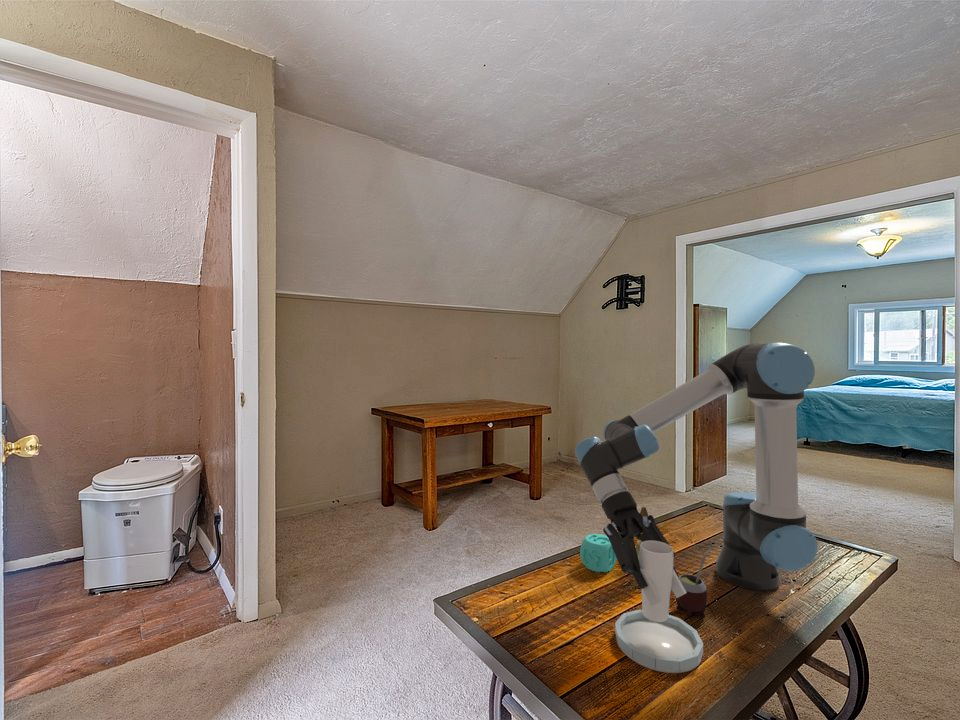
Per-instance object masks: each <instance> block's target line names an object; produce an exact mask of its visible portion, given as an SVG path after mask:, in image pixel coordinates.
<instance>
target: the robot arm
mask: <svg viewBox="0 0 960 720" xmlns="http://www.w3.org/2000/svg"><path fill="white" fill-rule="evenodd" d="M815 372H816V370H815V364H814V362H813V359H812V357H811V355H809V353H808V352H806V351H805V350H804V349H803V348H801V347H800V346H798V345H795V344H790V343H785V342H773V343H772V342H771V343H770V342H768V343H750V344H749V343H748V344H745V345H743V346H740V347H738V348H736V349H734V350H732V351H730V352H729V353H726V354H725V355H724V356H722V357H720V358H718V359H717V360H715V361H713V362H712V363H710V364H708V366H707V370H704V372H701V373H700V374H698V375H697V376H695V377H693V378H691V379H690V380H688V381H686V382H684V383H682V384H681V385H679V386H677V387H675V388H674V389H671V391H668V392H666V393H665V394H663V395H662V396H660V397H658V398H656V399H655V400H653V401H651V402H649V403H647V404H646V405H643V406H642V407H640V408H639V409H637V410H635V411H633V412H632V413H630V414H628V415H626V416H625V417H622V418H621V419H617V420H616V419H615V420H614V419H613V420H611V421H609V422H607V423H606V424H605V425H604V428H603V430H602V435H603V438H604V441H603V440H601V439H600V438H599V437H598V436H592V437H587V438H584V439H583V440H581V441H580V442H578V443H577V445H576V446H575V448H574V454H575V456H576V459H577V460H578V463H579V466H580V467H581V469H582V471H583V473H584V475H585V477H586V479H587V480H588V482H589V484H590V487H591V489H592V491H593V493H594V494H595V496H596V499H597V500H598V502H599V503H600V504H601V508H602V510H603V512H604V515H605V516H606V518H607V519H608V520H610V523H608V524H607V525H606V526H605V527H604V528H603V529H602V531H603V533H604V535H606V536H607V537H608V538H609V541H610V543H611V545H612V548H613V550H614V553H615V555H616V558H617V559H616V561H617V562H618V565H619V568H620V570H621V572H622V573H624V574H625V573H627V574H628V575H629V576H633V578H634V580H635V581H636V584H637V586H638V587H639V589H640V590H641V589H643V591H644V593H645V595H646V597H647V599H648V601H649V603H650V605H651V606H654V605H656V604H658V603H659V602H661V599H660V597H659V595H658V593H657V591H656V589H655V588H654V586H653V584H652V582H651V580H650V578H649V576H648V574H647V572H646V571H645V569H642V570H640V564H639V559H638V555H637V551H636V544H635V540H634V538H636V539H637V541H638V540H641V541H642V542H644V541H649V540H652V541H660V542H663V543H666V544H668V545H670V544H669V542H668V540H667V539H666V538H665V536H664V534H663V533H662V531H661V530H660V528H659V527H658V525H657V524H656V521H655V518H654V516H653V515H652V514H648V517H644V516H642V515H641V514H640V512H639V511H638V504H637V503H636V500H635V499H634V496H633V495H632V493H631V492H630V491H629V488H628V486H627V484H626V483H625V481H624V480H623V477H622V476H621V474H620V472H619V470H621V469H623V468H625V467H628V466H630V465H631V464H635V463H636V462H640V461H642V460H643V459H646V458H649V457H650V456H651V455H654V454H656V453H657V452H659V450H660V443H659V441H658V439H657V437H656V435H655V434H656V432H658V431H660V430H662V429H664V428H665V427H667V426H669V425H671V424H672V423H675V422H676V421H678V420H680V419H682V418H683V417H686V415H688V414H690V413H692V412H694V411H696V410H698V409H699V408H701V407H703V406H705V405H706V404H709V403H710V402H712V401H714V400H715V399H717V398H719V397H721V396H723V395H729V396H730V395H733V394H734V393H736V392H738V391H740V390H745V389H746V390H747V391H746V392H747V393H746V395H747V400H749V401H750V402H751V403H752V404H753V405H754V435H755V436H754V437H755V438H754V440H755V445H754V446H755V485H756V486H755V487H756V491H755V492H745V491H744V492H743V491H740V492H739V491H737V492H736V491H733V492H727V493H726V494H725V495H724V497H723V505H722V507H723V509H722V510H723V520H722V521H723V522H722V523H723V524H722V526H723V527H722V529H723V531H722V534H723V536H722V537H723V538H722V540H723V541H722V542H723V543H722V545H721V549H720V551H719V554H718V556H717V559H716V562H715V572H716V574H717V576H719V577H720V578H721V579H723V580H724V581H726V582H728V583H729V584H732V585H734V586H737V587H740V588H743V589H748V590H752V591H764V592H765V591H773V590H775V589H777V588H778V587H779V585H780V574H779V571H778V569H779V570H781V571H785V572H795V571H801V570H802V569H805V568H806V567H807V565H809V564H811V563H813V561H814V560H815V558H816V556H817V553H818V541H817V538H816V536H815V535H814V534H813V532H812V531H811V530H810V529H808V528H807V512H806V510H805V509H804V508H802V506H800V505H799V490H798V489H799V486H798V485H799V484H798V480H799V479H798V478H799V477H798V474H799V473H798V435H797V434H798V433H797V432H798V426H797V425H798V423H797V421H798V419H797V407H798V405H799V404H800V403H802V402H803V401H804V399H805V390H806V389H808V388H809V386H810V385H812V382H813V381H814V378H815V376H816V375H815V374H816V373H815ZM642 532H643V533H642ZM641 533H642V534H641ZM673 555H674V558H675V557H676V552H675V551H674V550H673ZM679 577H680V576H679V573H678V571H677V569H676V567H675V566H674V565H673V577H672V585H671V592H673V595H674V596H675V599H676V598H678V597H680V596H682V595H684V594H686V593H687V592H686V590H685V589H684V587H683V585H682V583H681V582H680V580H679Z"/></svg>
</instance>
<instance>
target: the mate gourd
mask: <svg viewBox="0 0 960 720" xmlns="http://www.w3.org/2000/svg"><path fill="white" fill-rule="evenodd" d="M712 550H713V548H712V547H710V548H709V549H708V550H707V551H705V553H704V555H703V556H702V557H701V560H700V564H699V568H698V572H697V575H693V574H682V575H680V576H679V577H678V578H679V580H680V582H681V583H682V585H683V587H684V589H685V590H686V592H687V593H686V594H684V595H682V596H680V597H678V598H676V597H675V600H676V604H677V605H676V609H677V610H679V611H681V612H685V613H687V614H686V619H688V620H691V618H692V617H693V615H694V616H699V617H701V618H705V617H706V614H705V611H706V610H707V606H708V595H709V594H708V590H707V586H706V584H705V583H704V581H703V579H701V578H700V577H701V574H702V570H703V566H704V564H705V562H706V558H707V556H708V555H709V554H710V553H711V551H712Z"/></svg>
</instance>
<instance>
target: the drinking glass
mask: <svg viewBox="0 0 960 720" xmlns="http://www.w3.org/2000/svg"><path fill="white" fill-rule="evenodd" d="M673 551H674V548H673V547H672V546H671V545H670V544H669V545H668V544H666V543H663V542H660V541H652V540H649V541H644V542H642V543H641V544H640V560H639V561H640V570H642V569H645V571H646V572H647V574H648V576H649V578H650V580H651V582H652V584H653V586H654V588H655V589H656V591H657V593H658V595H659V597H660V599H661V602H659V603H658V604H656V605H654V606H651V605H650V603H649V601H648V599H647V597H646V595H645V593H644V591H643V589H640V590H641V610H642V612H643V615H644V616H645V617H646V618H648V619H649V620H652V621H655V622H664V621H666V620H667V619H668V617H669V615H670V600H671V599H670V598H671V592H672V589H671V585H672V577H673V566H674V560H675V559H674V558H675V557H674V555H673Z"/></svg>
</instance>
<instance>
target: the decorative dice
mask: <svg viewBox="0 0 960 720" xmlns="http://www.w3.org/2000/svg"><path fill="white" fill-rule="evenodd" d="M579 554H580V555H579V556H580V560H581V562H582V564H583V566H585V568H587V570H589V569H590V570H589V571H591V570H592V572H594V571H595V573H600V572H604V573H608V571H609V572H610V571H612V570H613V569H614V567H615V565H616V562H617V558H616V555H615V553H614V550H613V548H612V545H611V543H610V541H609V538H608V537H607V536H606V534H601V533H589V534H588V535H586V536H584V538H583V540H582V541H581V545H580V550H579Z"/></svg>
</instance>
